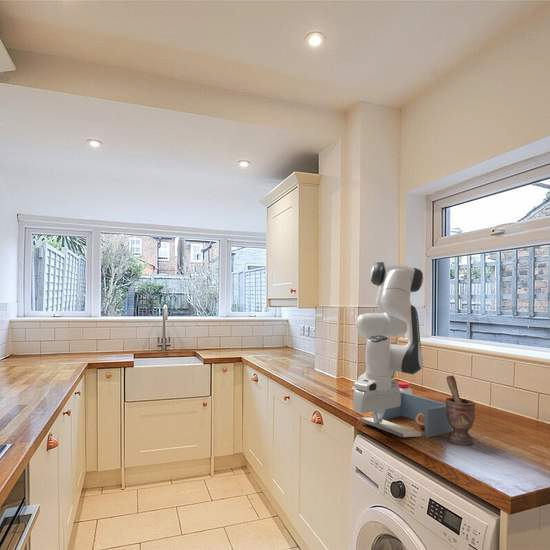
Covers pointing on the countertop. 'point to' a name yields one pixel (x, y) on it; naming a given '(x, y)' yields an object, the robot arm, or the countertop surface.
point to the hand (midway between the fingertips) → (377, 422)
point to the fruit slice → (420, 420)
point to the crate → (432, 409)
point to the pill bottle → (404, 387)
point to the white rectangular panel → (392, 428)
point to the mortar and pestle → (459, 415)
